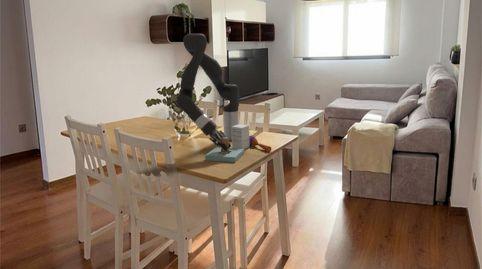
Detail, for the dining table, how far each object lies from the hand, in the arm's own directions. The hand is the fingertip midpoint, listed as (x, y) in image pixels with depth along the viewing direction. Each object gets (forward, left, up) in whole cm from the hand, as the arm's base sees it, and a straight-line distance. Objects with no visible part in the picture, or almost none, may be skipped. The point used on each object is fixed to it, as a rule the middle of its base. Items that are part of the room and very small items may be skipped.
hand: (228, 148), depth 200 cm
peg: (0, -2, -5) cm, 5 cm away
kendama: (-20, +11, -5) cm, 24 cm away
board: (0, -2, -5) cm, 5 cm away
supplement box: (-19, +1, -5) cm, 20 cm away
